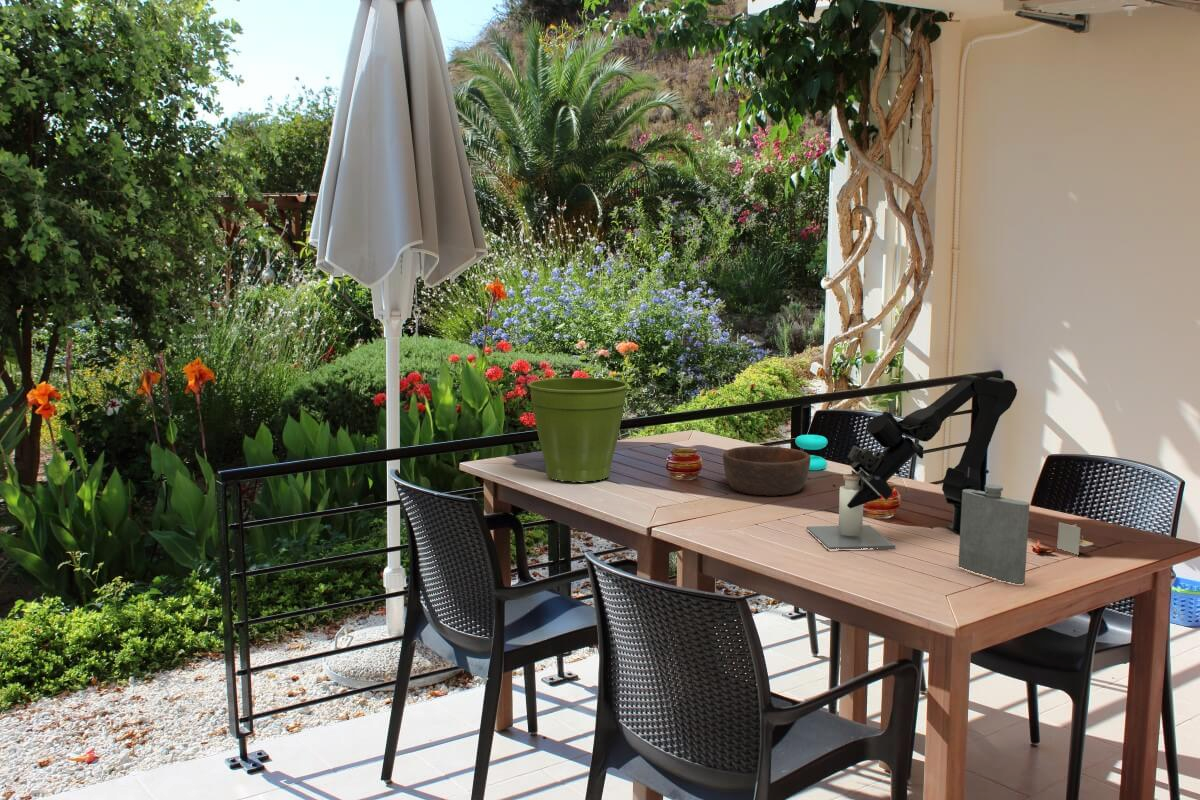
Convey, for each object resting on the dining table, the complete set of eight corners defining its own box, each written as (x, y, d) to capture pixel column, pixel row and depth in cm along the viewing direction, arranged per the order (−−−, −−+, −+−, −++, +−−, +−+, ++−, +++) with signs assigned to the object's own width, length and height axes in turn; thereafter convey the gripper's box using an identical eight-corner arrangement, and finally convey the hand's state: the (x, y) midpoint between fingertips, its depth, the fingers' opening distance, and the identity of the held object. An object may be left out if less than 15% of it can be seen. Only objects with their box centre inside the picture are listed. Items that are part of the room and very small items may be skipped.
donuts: (834, 436, 339) (814, 440, 332) (833, 468, 340) (813, 472, 333) (808, 432, 346) (788, 436, 339) (807, 463, 347) (788, 467, 341)
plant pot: (601, 492, 308) (601, 393, 303) (511, 482, 321) (510, 386, 316) (643, 472, 334) (643, 380, 330) (558, 463, 347) (557, 374, 343)
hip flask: (1027, 584, 228) (1033, 491, 224) (1015, 587, 225) (1021, 494, 222) (964, 565, 241) (969, 477, 237) (952, 568, 238) (957, 479, 235)
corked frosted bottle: (865, 535, 258) (867, 478, 256) (842, 536, 257) (844, 478, 255) (857, 528, 263) (859, 472, 261) (835, 529, 263) (836, 473, 260)
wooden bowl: (713, 495, 305) (714, 459, 304) (732, 476, 329) (732, 443, 327) (802, 502, 297) (803, 465, 296) (815, 482, 321) (816, 448, 319)
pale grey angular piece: (1065, 550, 253) (1067, 520, 252) (1092, 558, 247) (1094, 527, 246) (1056, 553, 251) (1058, 522, 250) (1082, 560, 245) (1084, 529, 244)
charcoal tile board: (895, 549, 252) (895, 545, 252) (828, 551, 251) (828, 547, 251) (869, 528, 270) (869, 524, 270) (806, 530, 268) (806, 526, 268)
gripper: (860, 428, 266) (814, 472, 267) (880, 442, 247) (831, 490, 249) (890, 459, 267) (845, 502, 269) (913, 475, 249) (864, 523, 250)
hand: (845, 503), depth 259 cm, fingers closed on corked frosted bottle, 5 cm apart
